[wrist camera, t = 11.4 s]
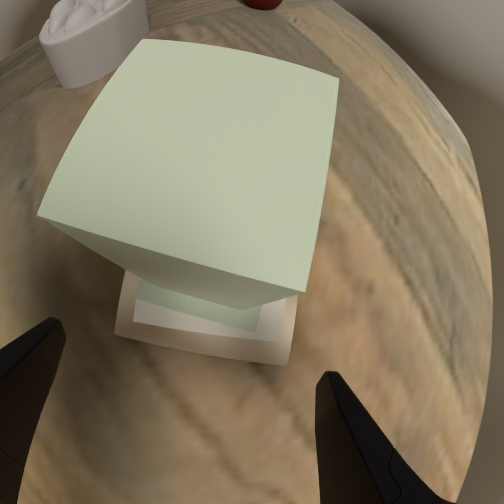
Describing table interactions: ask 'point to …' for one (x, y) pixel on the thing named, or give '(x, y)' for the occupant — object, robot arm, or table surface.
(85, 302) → the table surface
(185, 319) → the whitewashed top slab
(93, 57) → the white paw print block
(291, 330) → the ash base slab
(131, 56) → the sage pillar
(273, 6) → the cocoa
